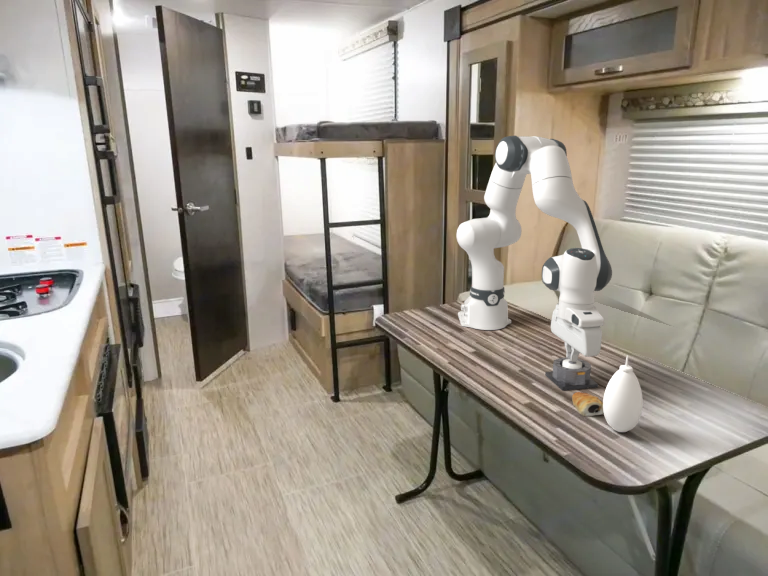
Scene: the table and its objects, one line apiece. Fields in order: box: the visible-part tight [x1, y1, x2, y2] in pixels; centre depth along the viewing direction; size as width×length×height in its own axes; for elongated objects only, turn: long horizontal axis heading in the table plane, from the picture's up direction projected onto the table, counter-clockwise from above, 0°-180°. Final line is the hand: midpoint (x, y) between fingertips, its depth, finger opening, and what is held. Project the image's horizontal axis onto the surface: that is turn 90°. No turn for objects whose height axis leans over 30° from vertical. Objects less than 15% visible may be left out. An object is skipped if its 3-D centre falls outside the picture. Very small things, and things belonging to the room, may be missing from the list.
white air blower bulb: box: [602, 355, 644, 433], centre depth 114 cm, size 8×8×18 cm
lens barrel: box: [545, 357, 599, 391], centre depth 141 cm, size 10×10×5 cm
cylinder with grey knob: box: [562, 359, 582, 369], centre depth 141 cm, size 5×5×5 cm
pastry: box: [571, 391, 604, 417], centre depth 127 cm, size 9×7×4 cm
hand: (571, 359), depth 140 cm, fingers closed
